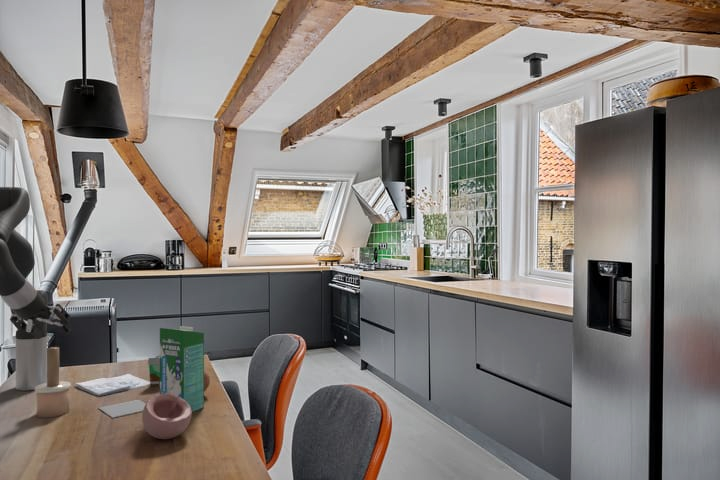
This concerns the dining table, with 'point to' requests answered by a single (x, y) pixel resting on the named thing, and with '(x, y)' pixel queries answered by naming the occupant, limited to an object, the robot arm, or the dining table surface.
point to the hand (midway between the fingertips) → (54, 334)
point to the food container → (154, 371)
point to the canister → (52, 404)
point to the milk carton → (182, 365)
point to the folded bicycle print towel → (112, 384)
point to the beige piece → (53, 374)
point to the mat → (123, 408)
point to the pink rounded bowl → (166, 416)
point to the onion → (206, 380)
